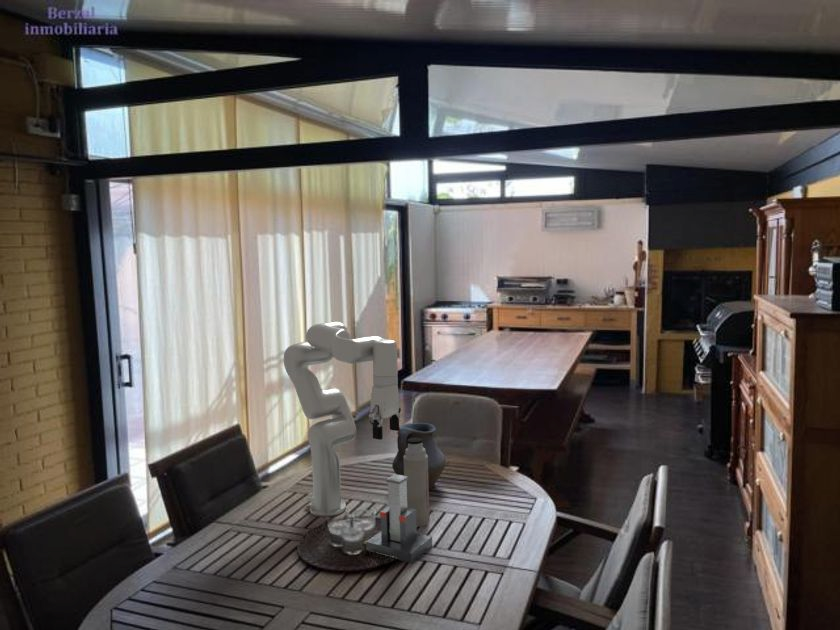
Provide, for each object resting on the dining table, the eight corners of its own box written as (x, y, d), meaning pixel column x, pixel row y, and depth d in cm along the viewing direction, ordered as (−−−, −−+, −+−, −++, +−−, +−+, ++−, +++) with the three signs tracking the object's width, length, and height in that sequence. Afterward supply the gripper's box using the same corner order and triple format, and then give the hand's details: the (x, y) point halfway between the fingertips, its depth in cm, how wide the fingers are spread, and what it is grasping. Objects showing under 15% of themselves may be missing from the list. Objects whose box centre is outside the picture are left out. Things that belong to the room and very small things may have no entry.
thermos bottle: (431, 517, 212) (429, 436, 209) (427, 527, 204) (424, 443, 201) (408, 515, 213) (405, 435, 211) (403, 525, 206) (400, 442, 203)
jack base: (366, 551, 189) (364, 512, 188) (388, 535, 199) (387, 498, 198) (411, 563, 181) (410, 523, 180) (432, 546, 191) (431, 508, 190)
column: (388, 539, 189) (386, 479, 187) (396, 533, 193) (394, 474, 191) (401, 543, 186) (399, 481, 184) (410, 536, 190) (408, 476, 189)
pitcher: (456, 483, 242) (455, 419, 240) (426, 502, 224) (424, 434, 222) (411, 474, 253) (409, 413, 251) (379, 492, 235) (377, 427, 233)
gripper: (389, 373, 202) (390, 425, 204) (359, 384, 187) (360, 440, 189) (410, 375, 198) (410, 428, 200) (380, 387, 183) (381, 444, 185)
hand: (386, 434), depth 195 cm, fingers open, 9 cm apart
